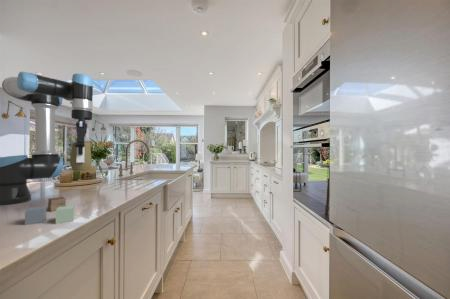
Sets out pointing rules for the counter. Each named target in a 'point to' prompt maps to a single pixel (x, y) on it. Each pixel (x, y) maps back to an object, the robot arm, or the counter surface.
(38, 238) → the counter surface
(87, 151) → the squeeze bottle
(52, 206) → the walnut cube
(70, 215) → the sage cube
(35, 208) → the blue-grey cube
